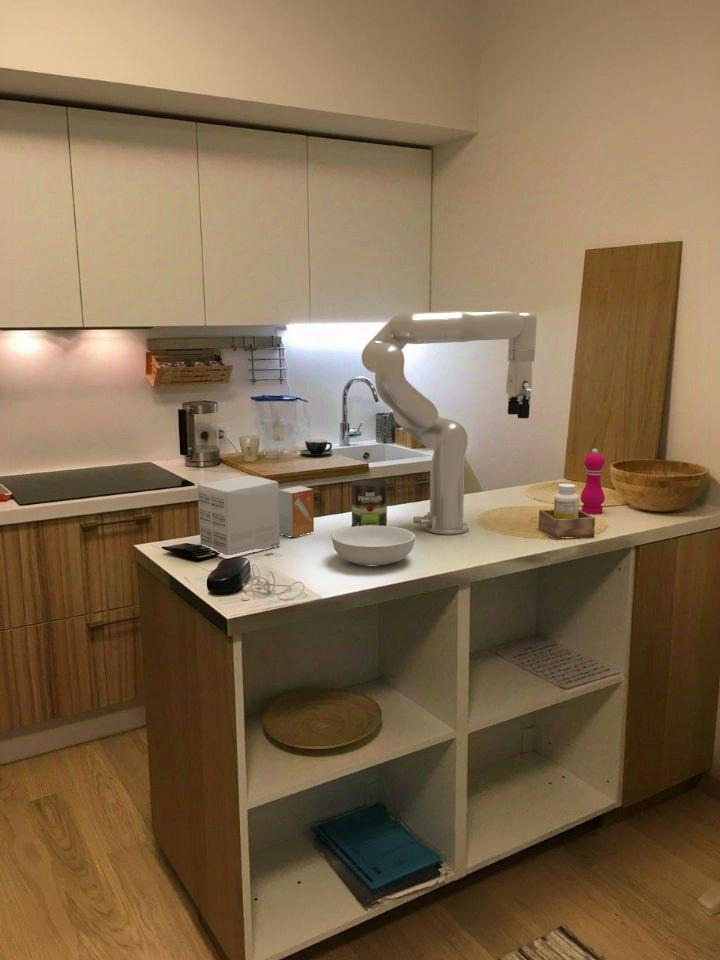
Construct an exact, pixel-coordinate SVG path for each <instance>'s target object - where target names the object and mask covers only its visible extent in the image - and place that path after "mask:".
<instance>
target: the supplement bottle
mask: <svg viewBox="0 0 720 960" xmlns="http://www.w3.org/2000/svg"><path fill="white" fill-rule="evenodd" d="M576 487H577V486H576V484H573V483H559V484H558V487H557V488H558V491H559V492H558V493H556V494H555V495H554V501H553V502H554V505H553V510H554V518H556V519H572V518H578V509H579V507H580V505H579V503H580V497H579V495H578V494H577V493H576V492H575V491H576V489H577V488H576ZM579 510H580V509H579Z"/></svg>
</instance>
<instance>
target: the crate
mask: <svg viewBox="0 0 720 960" xmlns="http://www.w3.org/2000/svg"><path fill="white" fill-rule="evenodd" d="M595 525H596V517H594V516H592V515H591V514H587V513H585V512H583V511H582V509H578V518H572V519H556V518H554V509H539V511H538V529H539V530H540V529H541V530H542V531H541V530H540V531H541V532H543V531H544V532H546V533H547V534H549V535H550V536H552V537H553V538H562V537H564V538H565V537H574V538H573V539H587V538H589V539H590V538H595ZM544 532H543V533H544ZM547 534H546V535H547ZM550 536H549V537H550ZM575 537H577V538H575ZM578 537H579V538H578ZM553 538H552V539H553Z"/></svg>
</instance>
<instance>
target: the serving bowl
mask: <svg viewBox="0 0 720 960" xmlns="http://www.w3.org/2000/svg"><path fill="white" fill-rule="evenodd" d="M415 540H416V535H415V533H414V532H412V531H410V530H409V529H405V528H401V527H397V526H389V525H387V526H377V525H368V526H355V527H352V526H350V527H345V528H341V529H338V530H336V531H333V533H332V535H331V541H332V545H333V548H334V550H335V552H336V553H337V554H338V555H339V556H340V557H341V558H342V559H343V560H345V561H347V562H350V563H353V564H356V565H360V564H362V565H361V566H365V565H381V566H385V565H384V564H386V565H389V564H393V563H396V562H398V561H401V560H403V559H405V558H406V557H407V556H408V555H409V554H410V553H411V552H412V549H413V547H414V545H415Z"/></svg>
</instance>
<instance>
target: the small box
mask: <svg viewBox="0 0 720 960" xmlns="http://www.w3.org/2000/svg"><path fill="white" fill-rule="evenodd" d="M278 501H279V532H280V534H283V535H287V536H291V537H295V538H297V537H296V536H299V537H301V536H300V535H303V534H307V533H311V532H315V525H314V523H315V521H314V513H315V512H314V510H315V509H314V506H315V505H314V488H310V487H306V486H302V485H297V486H293V487H287V488H283V489H278ZM283 535H282V536H283ZM307 535H308V534H307ZM287 536H286V537H287ZM303 536H304V535H303Z"/></svg>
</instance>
